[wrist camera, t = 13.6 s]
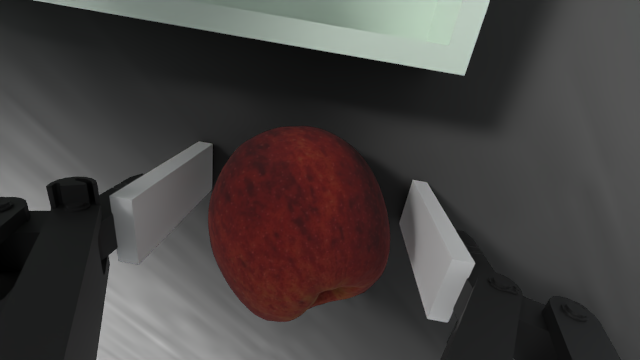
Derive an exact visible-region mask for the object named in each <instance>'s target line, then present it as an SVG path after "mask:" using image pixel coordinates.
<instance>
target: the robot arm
mask: <svg viewBox="0 0 640 360" xmlns="http://www.w3.org/2000/svg"><path fill="white" fill-rule="evenodd" d="M212 171H213V144H211V143H206V142H200V141H199V142H197V143H195V144H194V145H192V146H190V147H189V148H187V149H185V150H184V151H182V152H180V153H179V154H177V155H176V156H174V157H172V158H171V159H169V160H167V161H166V162H164V163H162V164H161V165H159V166H158V167H156V168H154V169H153V170H151V171H149V172H148V173H146V174H139V175H136V176H133V177H130V178H128V179H126V180H124V181H123V182H121V184H120V183H119V184H118V185H116V186H114V188H111V189H109V190H107V191H106V192H104V193H102V194H100V195H99V193H98V187H97V182H96V180H94V179H92V178H88V177H69V178H63V179H59V180H56V181H54V182H51V183H50V184H49V185H47V186H46V188H47V192H48V196H49V201H50V205H51V211H29V210H28V206H27V203H26V200H24V199H22V198H17V197H0V360H96V357H97V350H98V343H99V336H100V329H101V322H102V315H103V308H104V301H105V294H106V287H107V280H108V273H109V266H110V263H109V256H108V255H109V254H111V253H112V252H113V251H114V250H115V249H116V248H117V254H118V261H120V262H126V263H131V264H137V265H139V264H140V263H141V262H142V261H143V260H144V259H145V258H146V257H147V256H148V255H149V254H150V253H151V252H152V251H153V250H154V249H155V248H156V247H157V246H158V245H159V243H160V242H161V241H162V240H163V239H164V238H165V237H166V236H167V235H168V234H169V233H170V232H171V231H172V230H173V229H174V228H175V227H176V226H177V225H178V224H179V223H180V222H181V221H182V220H183V219H184V218H185V217H186V216H187V215H188V214H189V213H190V212H191V211H192V210H193V209H194V208H195V207H196V206H197V205H198V203H199V202H200V201H201V200H202V199H203V198H204V197H205V196H206V195H207V194H208V193H209V192H210V191H211V190H212ZM399 225H400V228H401V232H402V235H403V238H404V242H405V245H406V249H407V252H408V255H409V259H410V262H411V266H412V269H413V272H414V276H415V279H416V283H417V286H418V289H419V293H420V296H421V300H422V303H423V306H424V310H425V313H426V317H427V319H431V320H436V321H441V322H447V323H448V321H449V319H450V317H451V315H452V313H453V311H454V313H455V315H456V318H457V322H456V324H455V326H454V329H453V331H452V333H451V335H450V337H449V339H448V341H447V345H446V348H445V350H444V353H443V355H442V357H441V360H513V358H514V359H515V360H621V359H620V357H619V356H618V354H617V352H616V350H615V348H614V347H613V345H612V343H611V341H610V340H609V338H608V336H607V334H606V332H605V331H604V329H603V327H602V325H601V324H600V322H599V321H598V319H597V318H596V317H595V315H593V314H592V313H591V312H590V311H589V310H587V308H585V307H584V306H582V305H580V304H579V303H577V302H575V301H572V300H570V299H568V298H564V297H560V296H553V297H552V298H550V299H549V301H548V303H547V304H546V305H544V304H541V303H538V302H536V301H533V300H531V299H528V298H526V297H523V296H522V292H521V290H520V288H519V287H518V286H517V285H516V284H515V283H514V282H513V281H512V280H510V279H509V278H507V277H505V276H503V275H501V274H498V273H496V272H494V270H493V269H492V267H491V266H490V264H489V263H488V261H487V260H486V258H485V257H484V255H482V252H481V250H480V249H479V248H478V246H477V244H476V243H475V241H474V240H473V239H472V238H471V237H470V236H469V235H467V234H466V233H465V232H464V231H458V230H455V228H454V227H453V225H452V223H451V222H450V220H449V218H448V217H447V215H446V213H445V212H444V210H443V208H442V207H441V205H440V203H439V202H438V200H437V198H436V197H435V195H434V193H433V192H432V190H431V188H430V187H429V185H428V183H427V182H422V181H417V180H413V181H412V184H411V187H410V190H409V193H408V197H407V200H406V203H405V206H404V209H403V213H402V216H401V219H400V222H399Z"/></svg>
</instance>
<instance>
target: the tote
mask: <svg viewBox="0 0 640 360" xmlns="http://www.w3.org/2000/svg"><path fill="white" fill-rule="evenodd" d="M35 1H41V2H46V3H52V4H58V5H64V6H69V7H75V8H81V9H86V10H92V11H98V12H104V13H109V14H115V15H121V16H126V17H132V18H138V19H144V20H149V21H155V22H161V23H166V24H172V25H178V26H184V27H189V28H195V29H201V30H206V31H212V32H218V33H223V34H229V35H235V36H241V37H246V38H252V39H258V40H263V41H269V42H275V43H281V44H286V45H292V46H298V47H303V48H309V49H315V50H321V51H326V52H332V53H338V54H343V55H349V56H355V57H361V58H366V59H372V60H378V61H383V62H389V63H395V64H401V65H406V66H412V67H418V68H423V69H429V70H435V71H441V72H446V73H452V74H458V75H463V76H465V73H466V70H467V67H468V64H469V61H470V58H471V55H472V52H473V49H474V46H475V43H476V40H477V37H478V34H479V31H480V28H481V25H482V22H483V19H484V17H485V14H486V11H487V8H488V5H489V2H490V0H35Z"/></svg>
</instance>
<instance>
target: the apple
mask: <svg viewBox="0 0 640 360" xmlns="http://www.w3.org/2000/svg"><path fill="white" fill-rule="evenodd" d="M208 226H209V235H210V242H211V247H212V250H213V254H214V257H215V259H216V262H217V264H218V266H219V268H220V270H221V272H222V274H223V276H224V278H225V280H226V281H227V283H228V285H229V286H230V288H231V289H232V290H233V292H234V293H235V295H236V296H237V297H238V298H239V300H240V301H241V302H242V303H243V304H244V305H245V306H246V307H247V308H248V309H249V310H250V311H251V312H253V313H254V314H255V315H257V316H259V317H261V318H263V319H265V320H268V321H277V322H286V321H291V320H294V319H295V318H297V317H299V316H301V315H302V314H303V313H304V312H305V311H306V310H307V309H309V308H312V307H314V306H317V305H321V304H324V303H327V302H331V301H336V300H342V299H347V298H351V297H353V296H356V295H359V294H361V293H364V292H365V291H366V290H367V289H369V288H370V287H371V286H372V285H373V284H374V283H375V282H376V281H377V280H378V279H379V278H380V276H381V275H382V273H383V272H384V269H385V267H386V264H387V260H388V256H389V250H390V227H389V220H388V214H387V210H386V205H385V202H384V198H383V195H382V192H381V190H380V187H379V184H378V182H377V180H376V178H375V176H374V174H373V172H372V170H371V169H370V167H369V165H368V164H367V163H366V161H365V160H364V158H363V157H362V156H361V155H360V154H359V153H358V152H357V150H356V149H354V148H353V147H352V146H351V145H350V144H349V143H347V142H346V141H344V140H343V139H341V138H340V137H338V136H336V135H335V134H333V133H331V132H328V131H326V130H323V129H320V128H315V127H310V126H288V127H279V128H275V129H271V130H268V131H265V132H263V133H261V134H259V135H256V136H255V137H253V138H251V139H249V140H247V141H246V142H244V143H243V144H242V145H240V146H239V147H238V148H237V149H236V150H235V152H234V153H233V154H232V155H231V157H230V158H229V159H228V161H227V162H226V164H225V166H224V167H223V169H222V171H221V173H220V175H219V177H218V179H217V181H216V184H215V186H214V189H213V192H212V195H211V199H210V204H209V213H208Z"/></svg>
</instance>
